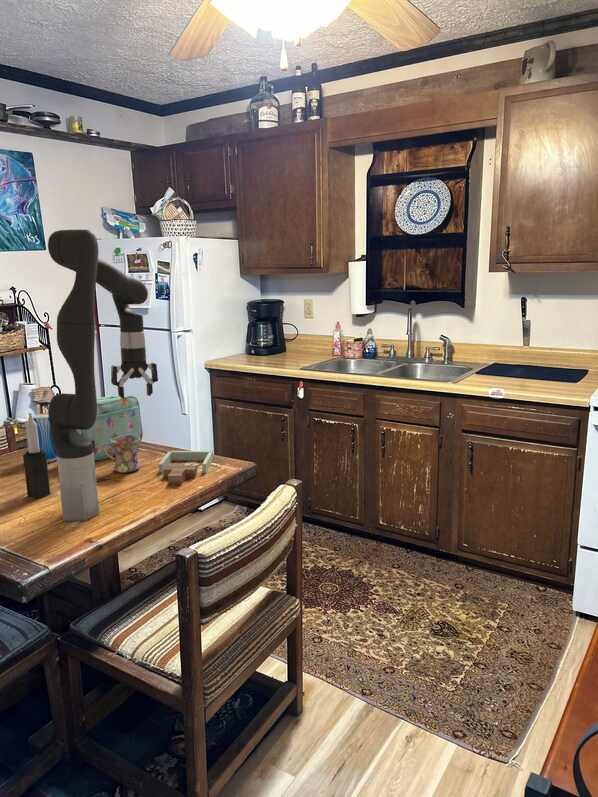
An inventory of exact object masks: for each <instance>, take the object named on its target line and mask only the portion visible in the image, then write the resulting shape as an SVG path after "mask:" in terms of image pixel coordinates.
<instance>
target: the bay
mask: <svg viewBox="0 0 598 797" xmlns="http://www.w3.org/2000/svg"><path fill="white" fill-rule="evenodd" d="M213 460H214V450H168V451H167V453H166V454H165V456H164V457H163V458H162V459H161V460H160V462H159V463H158V473H159V474H163V469H164V468H165V466H166V465H170V464H171V462H173V461H203V462H202V464H201V466H202V468H201V469H202V474H206V473H207V472H208V470H209V468H210V467H211V465H212V463H213Z"/></svg>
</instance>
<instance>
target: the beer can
mask: <svg viewBox="0 0 598 797" xmlns="http://www.w3.org/2000/svg"><path fill="white" fill-rule="evenodd" d="M32 417H33V420H34V421H35V422H36V423H37V430H38V439H39V449H40V450H43V452H46V457H47V462H49V463H52V461H54V462H56V461H57V454H56V449H55V448H54V446H53V442H52V435H51V429H50V424H49V415H48V412H45V413H39V414H34V415H33V416H32ZM55 460H56V461H55Z"/></svg>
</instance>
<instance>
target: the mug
mask: <svg viewBox="0 0 598 797" xmlns="http://www.w3.org/2000/svg"><path fill="white" fill-rule="evenodd" d="M139 439H140V438H139V437H138V436H133V435H125V436H118V437H115V438H112V439H111V440H110V442H111V444H112V445H111V444H104V445H103V447H102V449H103V452H104V453H105V454H106V455H107V456H108V458H110V459H112V460H113V461H112V462H113V463H114V466H113V470H114V471H115V472H118V473H123V474H125V473H132V472H135V471H137V470H139V469H140V468H141V464H140V462H139V461H138V453H137V452H138V446H139V445H138V442H139ZM105 445H110V446H111V447H112V448H113V450H114V451H115V455H114V456H115V457H113V456H109V455H108V454H107V453H106V452H105V450H104V446H105Z"/></svg>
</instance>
